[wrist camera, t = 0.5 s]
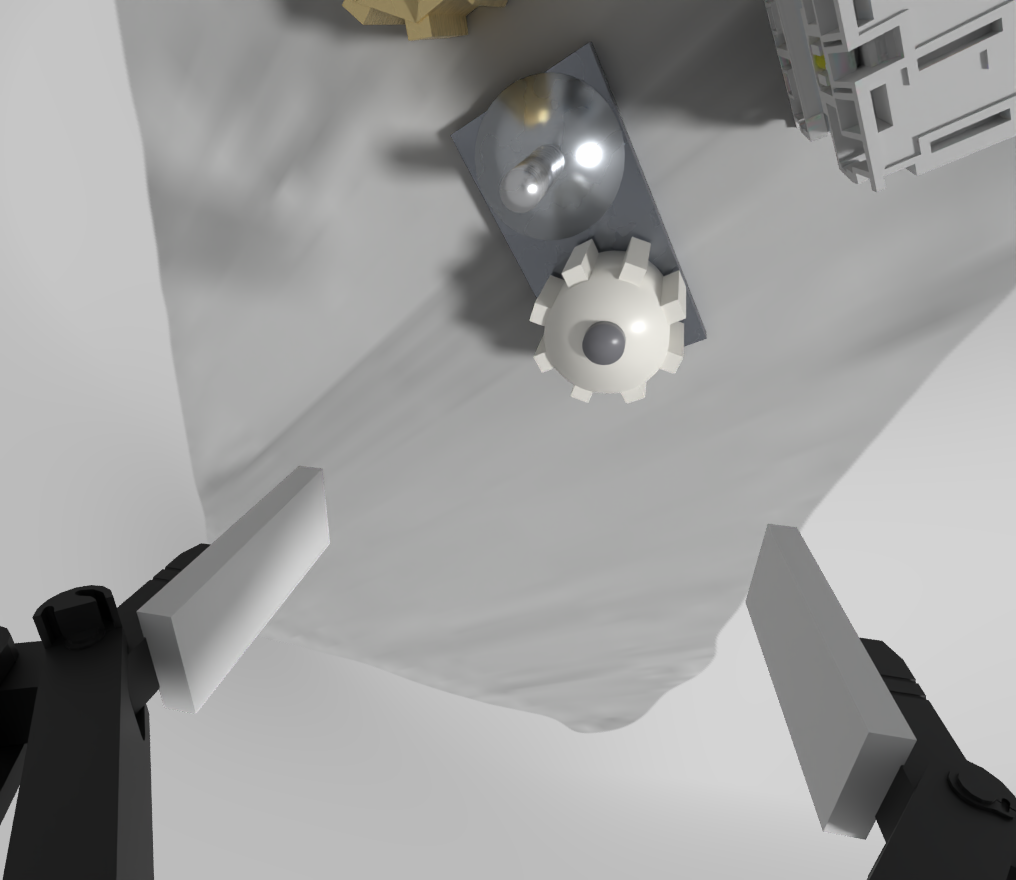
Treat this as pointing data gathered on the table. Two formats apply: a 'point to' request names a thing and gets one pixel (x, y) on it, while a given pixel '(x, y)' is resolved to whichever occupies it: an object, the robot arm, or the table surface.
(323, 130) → the table surface
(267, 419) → the table surface
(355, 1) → the brass gear
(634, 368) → the gear
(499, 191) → the gear plate
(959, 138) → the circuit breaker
